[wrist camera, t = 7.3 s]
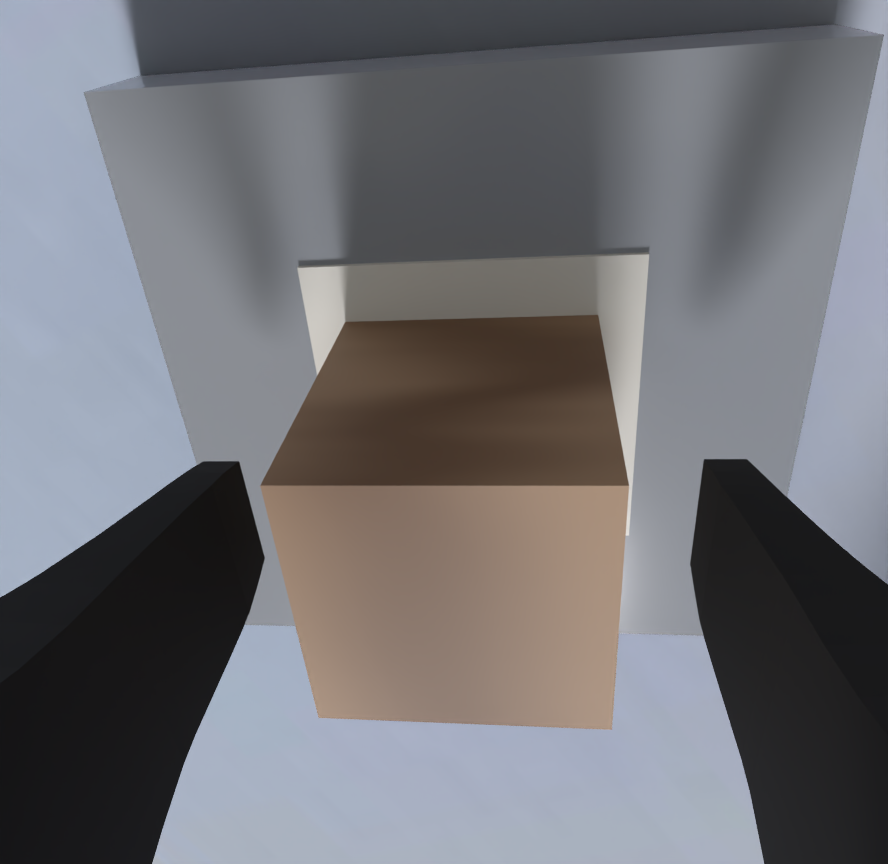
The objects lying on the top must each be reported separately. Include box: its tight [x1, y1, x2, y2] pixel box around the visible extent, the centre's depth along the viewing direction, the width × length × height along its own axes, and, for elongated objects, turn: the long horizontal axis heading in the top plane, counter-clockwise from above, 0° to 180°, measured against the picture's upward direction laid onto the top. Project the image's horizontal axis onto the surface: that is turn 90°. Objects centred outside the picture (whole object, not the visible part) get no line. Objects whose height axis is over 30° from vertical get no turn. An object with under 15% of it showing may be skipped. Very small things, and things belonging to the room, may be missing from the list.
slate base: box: [84, 24, 884, 636], centre depth 15 cm, size 12×12×2 cm
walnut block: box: [260, 315, 629, 730], centre depth 12 cm, size 4×4×5 cm
